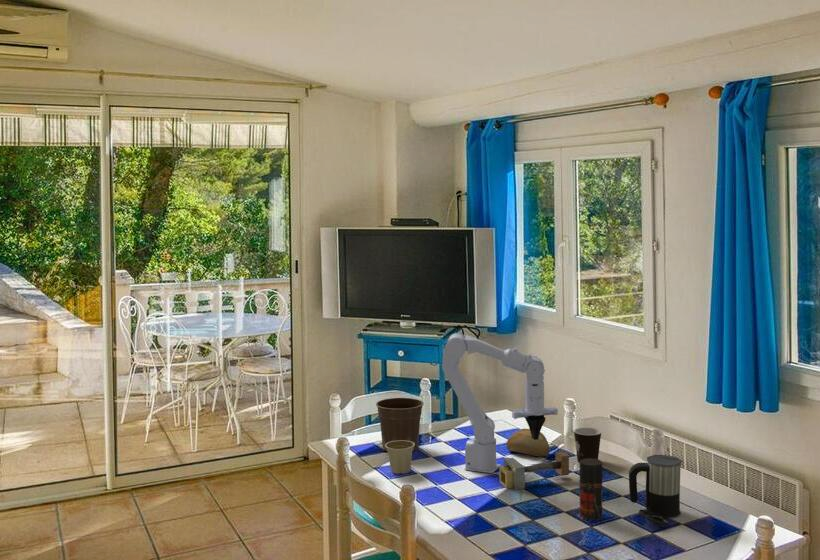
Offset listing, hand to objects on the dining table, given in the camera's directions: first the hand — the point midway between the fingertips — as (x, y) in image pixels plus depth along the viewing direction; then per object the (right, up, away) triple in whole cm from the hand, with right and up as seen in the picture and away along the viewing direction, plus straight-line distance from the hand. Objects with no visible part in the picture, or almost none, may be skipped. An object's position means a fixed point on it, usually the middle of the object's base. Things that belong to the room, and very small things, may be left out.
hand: (535, 438), depth 270 cm
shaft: (+1, -9, -9) cm, 13 cm away
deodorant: (+10, -14, -37) cm, 41 cm away
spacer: (-10, -12, -12) cm, 20 cm away
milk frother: (+28, -14, -40) cm, 50 cm away
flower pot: (-42, -11, +2) cm, 44 cm away
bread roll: (0, -8, +18) cm, 19 cm away
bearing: (-8, -11, -12) cm, 18 cm away
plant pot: (-42, -8, +26) cm, 50 cm away
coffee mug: (+18, -9, +9) cm, 22 cm away
